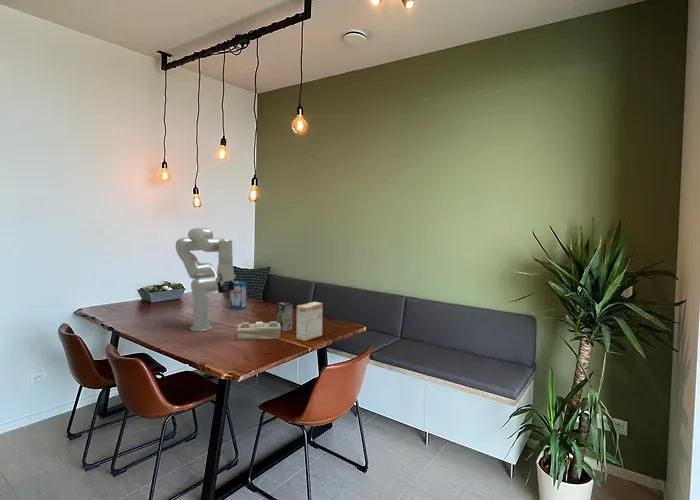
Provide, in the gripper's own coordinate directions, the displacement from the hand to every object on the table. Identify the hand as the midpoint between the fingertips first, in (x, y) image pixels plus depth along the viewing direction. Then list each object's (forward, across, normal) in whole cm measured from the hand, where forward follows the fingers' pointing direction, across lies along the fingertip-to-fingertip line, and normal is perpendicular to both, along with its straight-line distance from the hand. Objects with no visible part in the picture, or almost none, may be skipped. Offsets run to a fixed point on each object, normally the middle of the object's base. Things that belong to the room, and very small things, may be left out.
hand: (226, 291), depth 227 cm
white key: (+23, -11, +14) cm, 29 cm away
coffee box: (+28, -31, +20) cm, 46 cm away
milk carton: (+25, -67, -38) cm, 81 cm away
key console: (+27, -12, +14) cm, 33 cm away
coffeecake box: (+28, -21, +41) cm, 54 cm away
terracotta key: (+23, -7, +7) cm, 25 cm away
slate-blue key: (+23, -15, +21) cm, 35 cm away
